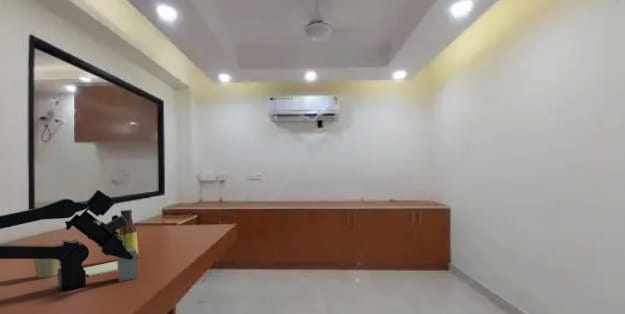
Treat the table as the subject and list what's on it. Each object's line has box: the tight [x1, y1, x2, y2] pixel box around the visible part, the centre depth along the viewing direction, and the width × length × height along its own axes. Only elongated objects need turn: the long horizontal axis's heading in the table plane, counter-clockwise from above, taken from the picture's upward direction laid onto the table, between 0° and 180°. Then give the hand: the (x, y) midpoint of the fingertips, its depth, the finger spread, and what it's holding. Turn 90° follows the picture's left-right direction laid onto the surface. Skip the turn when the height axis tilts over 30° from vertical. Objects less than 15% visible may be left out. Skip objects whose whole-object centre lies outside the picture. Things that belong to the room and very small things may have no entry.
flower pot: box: [32, 259, 60, 279], centre depth 144 cm, size 9×9×9 cm
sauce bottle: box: [118, 209, 139, 259], centre depth 166 cm, size 7×6×20 cm
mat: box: [83, 260, 118, 277], centre depth 150 cm, size 16×14×1 cm
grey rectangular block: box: [116, 248, 138, 282], centre depth 134 cm, size 5×5×9 cm
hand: (131, 257), depth 135 cm, fingers closed on grey rectangular block, 5 cm apart
